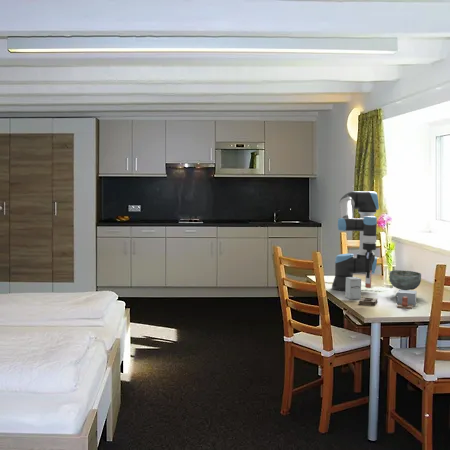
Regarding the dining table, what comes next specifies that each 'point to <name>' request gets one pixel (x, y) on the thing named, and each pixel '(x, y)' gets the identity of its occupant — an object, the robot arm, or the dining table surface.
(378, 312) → the dining table surface
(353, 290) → the supplement box
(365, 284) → the peg
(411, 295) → the cover
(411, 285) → the bowl
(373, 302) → the board
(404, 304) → the board
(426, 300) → the dining table surface
